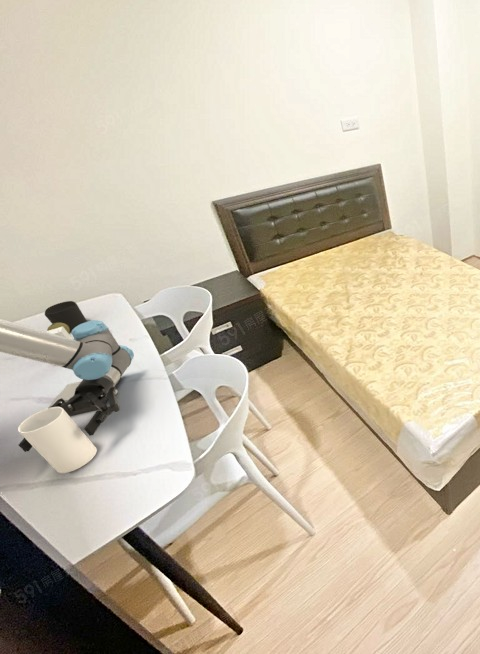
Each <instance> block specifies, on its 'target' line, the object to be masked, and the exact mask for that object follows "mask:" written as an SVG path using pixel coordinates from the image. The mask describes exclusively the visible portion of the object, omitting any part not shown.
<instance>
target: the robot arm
mask: <svg viewBox="0 0 480 654" xmlns="http://www.w3.org/2000/svg"><path fill="white" fill-rule="evenodd" d="M45 331H46V330H45ZM45 331H44V330H41V329H39V328H34V327H31V326H27V325H24V324H21V323H18V322H17V323H16V322H13V321H10V320H6V319H2V318H0V353H2V354H8V355H11V356H15V357H19V358H24V359H28V360H32V361H35V362H36V361H37V362H40V363H44V364H48V365H52V366H57V367H61V368H64V369H68V370H71V371H73V374H74V376H76V377H77V378H78V379H80V380H81V381H80V382H81V383H80V384H79V385H78V386H77V388H76V389H75V394H74V396H73V397H71V398H70V399H69V400H63V399H62V398H61V399H59V400H57V401H56V402H55V403H54V404H53V405H52V406H51V407H61V408H63V409H64V410H65V412H66V413H67V414H73V413H74V412H76V411H77V410H81V409H84V408H90V407H91V406H93V405H95V406H96V407H97V408H98V409H97V410H95V412H94V414H93V415H92V416H91V418H90V419H89V421H88V423H87V424H86V425H85V427H84V428H83V430H84V431H85V432H86V433H87V435H89V436H90V437H91V436H94V434H95V433H96V432H97V430H98V429H99V427H100V426H101V424H102V423H104V422H105V421H106V419H107V418H108V417H109V416H110V415H111V414H112V413H118V412H120V411H121V408H120V403H119V399H118V396H119V395H120V393H119V391H118V389H117V387H116V388H115V387H114V386H115V385H116V383H117V382H118V380H119V379H120V377H121V378H122V376H123V375H124V374H125V372H126V371H127V370H128V368H129V367H130V366H131V364H132V361H133V360H134V357H135V354H134V352H133V349H131V348H129V347H127V346H126V345H121V344H119V343H118V342H117V340H116V338H115V337H114V335H113V334H112V332H111V331H110V328H109V327H108V326H107V325H106V323H105V322H103V320H99V319H94V320H88V321H87V322H85V323H82V324H80V325H78V326H76V327H75V328H74V329H73V330H72V332H70V333H71V335H72V337H73V338H72V339H73V340H72V339H69V338H65V337H62V336H58V335H55V334H52V333H48V332H45ZM107 396H108V399H107V400H108V403H109V406H107V405H106V404H105V403H104V404H103V403H102V402H101V401H102V400H104V399H105V398H106V397H107ZM68 405H71V407H72V408H73V409H72V410H70V408H69V407H68ZM48 407H49V406H48ZM51 407H49V408H51ZM18 447H19V448H20V449H21V450H22V451H23V452H25V453H26V452H30V450H31V449H32V448H33V446H32V445H31V444H30V443H29V442H28V441H27V440H26V439H25V438H24V437H23V439H22V440H21V441H20V442H19V443H18Z"/></svg>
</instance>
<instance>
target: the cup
mask: <svg viewBox="0 0 480 654" xmlns="http://www.w3.org/2000/svg"><path fill="white" fill-rule="evenodd" d="M47 408H48V407H47ZM47 408H44V409H42V410H40V411H38V412H35V413H33V414H31V415H30V416H28V417H27V418H25V420H23V421H22V422H21V423H20V424H19V426H18V427H17V431H18V433H19V434H20V435H21V436H22V437H23V439H24V438H25V439H26V440H27V441H28V442H29V443H30V444H31V445H32V448H33V449H35V451H36V452H37V453H39V455H40V456H41V457H42V458H43V459H44V460H45V461H46V462H47V463H48V464H49V465H50V466H51V467H52V468H53V469H54V470H55V471H56V472H57V473H58V474H68V473H70V472H74V471H76V470H78V469H80V468H82V467H83V466H85V465H86V464H88V463H90V461H91V460H92V459H93V458H94V457H95V456H96V454H97V453H98V448H97V447H96V446H95V444H94V443H93V442H92V441H91V440H90V439H89V437H88V436H87V435H86V434H85V433H84V431H82V429H81V428H80V427H79V426H78V424H77V423H76V421H74V420H73V419H72V417H71V416H69V415H68V414H67V413H66V412H65V410H64V409H63V408H61V407H51V408H48V409H47Z"/></svg>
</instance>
